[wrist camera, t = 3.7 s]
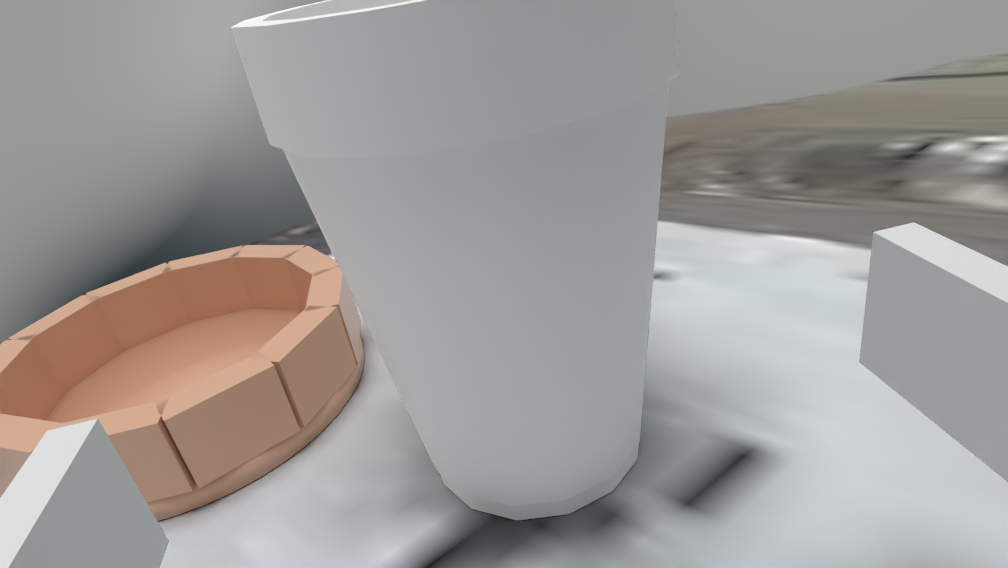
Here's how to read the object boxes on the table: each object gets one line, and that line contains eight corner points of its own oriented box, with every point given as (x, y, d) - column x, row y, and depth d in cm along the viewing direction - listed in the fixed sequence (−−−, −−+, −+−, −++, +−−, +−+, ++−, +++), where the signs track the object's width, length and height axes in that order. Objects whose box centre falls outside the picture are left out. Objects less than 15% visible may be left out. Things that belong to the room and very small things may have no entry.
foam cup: (441, 352, 25) (351, -8, 19) (688, 349, 23) (672, -65, 17) (336, 557, 17) (126, 50, 11) (699, 586, 15) (676, -41, 9)
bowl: (367, 286, 32) (348, 222, 30) (361, 471, 20) (329, 382, 19) (93, 348, 31) (59, 285, 29) (-78, 580, 19) (-150, 496, 18)
